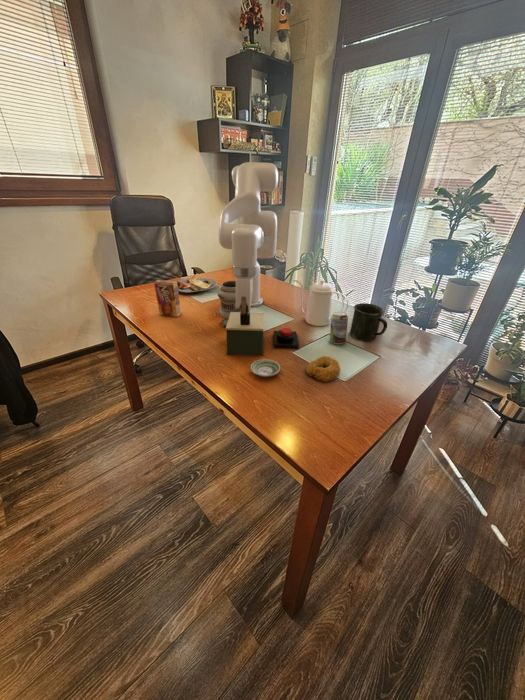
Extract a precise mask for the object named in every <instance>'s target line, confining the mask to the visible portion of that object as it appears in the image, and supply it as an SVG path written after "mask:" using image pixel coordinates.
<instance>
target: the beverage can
mask: <svg viewBox="0 0 525 700" xmlns="http://www.w3.org/2000/svg"><path fill="white" fill-rule="evenodd" d="M330 318H331V319H330V331H329V342H331V344H334V345H343V344H344V343H347V332H348V324H349V323H348V322H349V316H348V314H347V312H345V311H342V312H341V311H336V312H333V313H332V315H331V316H330Z"/></svg>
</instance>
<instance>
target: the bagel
mask: <svg viewBox="0 0 525 700" xmlns="http://www.w3.org/2000/svg"><path fill="white" fill-rule="evenodd" d="M341 369H342V368H341V365H340V363H339V361H338V360H336V359H335V358H334V357H331V356H327V355H323V356H320V357H317V358H316V359H314V360H311V362H309V363H308V365H307V366H306V367H305V372H306V374H307V375H308V376H311V377H314V379H316V380H318V381H321V382H326V383H327V382H331V381H333V380H335V379H337V378H338V376H339V375H340V374H341V373H340V372H341Z"/></svg>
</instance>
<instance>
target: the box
mask: <svg viewBox="0 0 525 700" xmlns="http://www.w3.org/2000/svg"><path fill="white" fill-rule="evenodd" d="M263 324H265V323H264V322H263ZM225 333H226V351H227V354H226V355H228V356H229V355H230V356H263V355H264V330H263V331H251V330H226V329H225Z"/></svg>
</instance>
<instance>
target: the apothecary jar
mask: <svg viewBox="0 0 525 700" xmlns="http://www.w3.org/2000/svg"><path fill="white" fill-rule="evenodd" d="M216 293H217V297H218V298H219V299H220V307H219V309H218V313H217V314H218V316H219V317H220V318H221V319H222V322H221V326H222V328H225V329H226V326H227V322H228V319H229V316H230V312H241V309H240V307H239V308H238V309H237V308H236V280H226V281H222V283H221V284H220V288H218V290H217V292H216Z"/></svg>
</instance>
